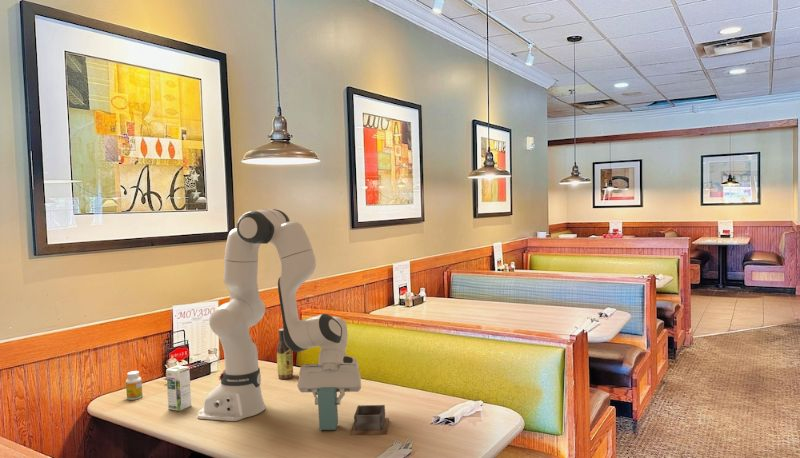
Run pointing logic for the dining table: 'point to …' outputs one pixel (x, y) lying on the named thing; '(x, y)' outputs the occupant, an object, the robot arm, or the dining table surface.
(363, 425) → the box
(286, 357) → the sauce bottle
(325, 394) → the teal block
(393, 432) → the dining table surface
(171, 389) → the syrup box
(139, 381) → the supplement bottle
